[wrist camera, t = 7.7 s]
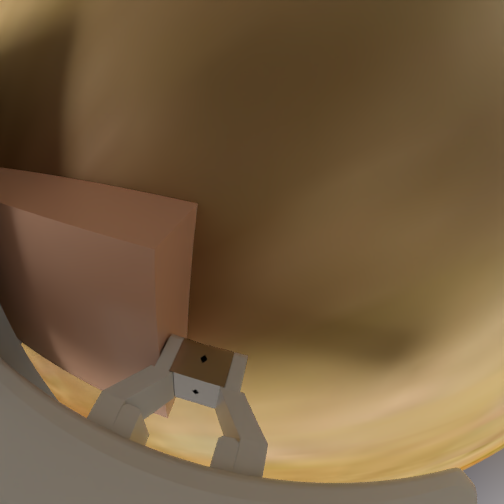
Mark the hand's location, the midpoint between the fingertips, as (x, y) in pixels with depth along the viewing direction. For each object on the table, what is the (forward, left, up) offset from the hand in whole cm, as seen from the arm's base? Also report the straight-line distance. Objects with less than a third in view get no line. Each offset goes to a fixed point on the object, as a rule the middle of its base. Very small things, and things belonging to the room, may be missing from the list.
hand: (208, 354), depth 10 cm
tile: (0, -8, -2) cm, 9 cm away
